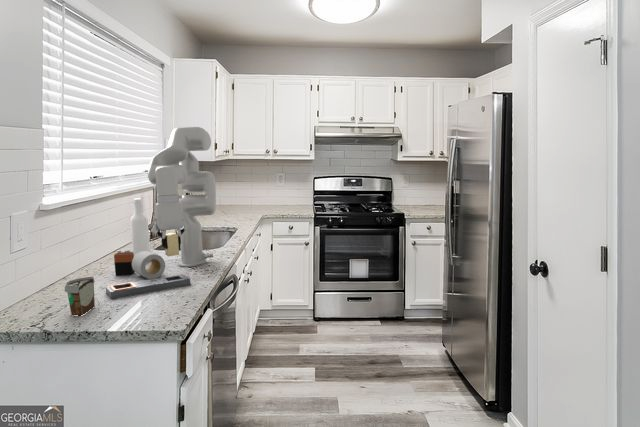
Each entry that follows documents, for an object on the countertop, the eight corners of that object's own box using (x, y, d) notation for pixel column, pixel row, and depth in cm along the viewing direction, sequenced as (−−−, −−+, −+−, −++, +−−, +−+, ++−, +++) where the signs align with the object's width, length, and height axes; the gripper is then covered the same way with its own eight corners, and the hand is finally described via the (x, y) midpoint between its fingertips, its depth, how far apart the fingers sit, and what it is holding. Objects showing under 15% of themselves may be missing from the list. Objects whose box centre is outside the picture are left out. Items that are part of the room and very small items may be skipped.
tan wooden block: (175, 253, 178) (174, 232, 177) (179, 254, 174) (177, 234, 173) (165, 254, 175) (163, 233, 174) (168, 256, 172) (166, 235, 171)
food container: (77, 306, 152) (74, 277, 151) (96, 305, 152) (94, 276, 151) (59, 319, 140) (56, 287, 138) (80, 318, 140) (77, 286, 139)
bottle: (150, 258, 225) (145, 197, 221) (151, 261, 218) (146, 198, 214) (132, 260, 222) (127, 198, 218) (133, 263, 215) (128, 199, 211)
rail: (182, 280, 182) (182, 273, 182) (190, 284, 175) (190, 277, 174) (106, 293, 166) (105, 285, 166) (111, 299, 159) (110, 291, 159)
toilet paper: (166, 276, 189) (164, 252, 188) (141, 281, 183) (139, 256, 182) (156, 272, 197) (154, 249, 196) (132, 276, 190) (130, 253, 189)
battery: (131, 275, 193) (129, 251, 192) (115, 275, 193) (113, 252, 192) (135, 272, 197) (133, 249, 196) (119, 273, 197) (117, 250, 196)
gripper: (186, 196, 180) (190, 242, 182) (142, 200, 170) (146, 249, 173) (193, 198, 174) (196, 245, 176) (147, 202, 164) (151, 252, 167)
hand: (171, 246), depth 175 cm, fingers closed on tan wooden block, 4 cm apart
